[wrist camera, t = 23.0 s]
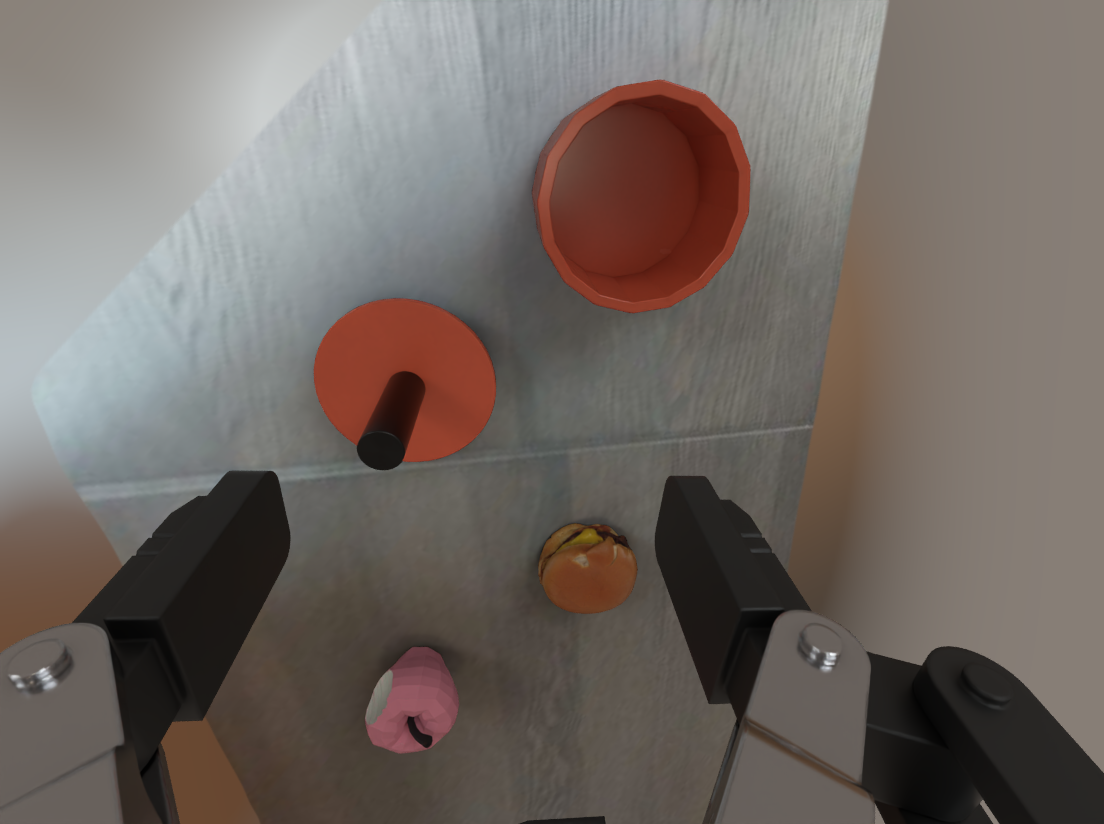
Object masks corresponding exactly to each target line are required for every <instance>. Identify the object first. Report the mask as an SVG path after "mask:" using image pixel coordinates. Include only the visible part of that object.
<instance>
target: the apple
mask: <svg viewBox="0 0 1104 824" xmlns="http://www.w3.org/2000/svg"><path fill="white" fill-rule="evenodd" d="M458 707H459V699H458V693H457V690H456V687H455V685H454V682H453V679H452V677H451V675H450V673H449V671H448V669H447V667H446V666H445V664H444V661H443V658H442V657H441V655H440V654H439V653H437V652H435V651H434V650H432V649H430V648H429V647H412V648H411V649H409V650H408V651H407V652H406V653H404V654H403V655H402V656H401V658H400V659H399V660H398V661H397V662H396V663H395V664H394V665H393V666H392V667H391V668H390V669H389V670H388V671H387V672H386V673H385V674H384V675H383V676H382V677H381V679H380V680H379V682H378V683H377V686H376V687H375V689H374V691H373V694H372V698H371V700H370V703H369V706H368V708H367V712H366V717H365V724H366V728H367V732H368V735H369V737H370V739H371V741H372V743H373V744H374V745H377V746H380V747H383V748H386V749H388V750H391V751H394V752H396V753H399V754H400V753H409V752H417V751H421V750H426V749H430V748H431V747H432V746H433V745H434V744H435V743H436V742H438V741H439V740H440V739H441V738H442V737H443V736H444V735H446V734H447V733H448V732H449V731H450V729H451V727H452V726H453V724H454V723H455V720H456V716H457V713H458Z"/></svg>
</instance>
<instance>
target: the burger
mask: <svg viewBox="0 0 1104 824" xmlns="http://www.w3.org/2000/svg"><path fill="white" fill-rule="evenodd" d="M538 568H539V573H538V576H539V577H540V579H539V580H540V584H541V583H542V586H543V587H544V590H545V592H546V594H547V596H548V598H549V599H550V600H551V601H552V602H553V603H554V604H555V605H556V606H558V607H560V608H561V609H564V610H567V611H569V612H574V613H582V614H590V613H599V612H603V611H607V610H610V609H613V608H615V607H617V606H618V605H620V604H622V603H623V602H624V601H625V600H626V599H627V597H628V596H629V595H630V593H631V592H632V590H633V587H634V584H635V580H636V576H637V570H638V569H637V563H636V558H635V555H634V553H633V552H632V550H631V549H630V547H629V545H628V543H627V540H626V538H625V537H624V536H622V535H621V536H618V535H617V534H616V533H615V531H614V530H612V529H611V528H610V527H609V526H606V525H600V524H594V525H591V526H587V525H585V526H584V525H582V524H576V523H574V524H570V525H567V526H565V527H562V528H561V529H559V530H558V531H556V532H555V533H554V534H552V535H551V538H550V539H548V540H547V542H546V543H545V545H544V548H543V551H542V553H541V556H540V560H539V564H538Z"/></svg>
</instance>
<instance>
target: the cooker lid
mask: <svg viewBox="0 0 1104 824" xmlns="http://www.w3.org/2000/svg"><path fill="white" fill-rule="evenodd" d="M314 383H315V388H316V393H317V396H318V399H319V402H320V404H321V406H322V408H323V410H324V412H325V414H326V415H327V417H328V418H329V420H330V421H331V422H332V424H333V425H334V426H335V427H336V428H337V430H338V431H339V432H341V433H342V434H343V435H344V436H345V437H346V438H347V439H349V440H350V441H351V442H353V443H354V444H355V445H357V452H358V455H359V457H360V459H361V460H362V461H363V462H364V463H365V464H366V465H367V466H369V467H371V468H373V469H377V470H389V469H393V468H395V467H397V466H398V465H399V464H400V463H401V462H402V461H405V462H421V461H430V460H435V459H439V458H442V457H445V456H448V455H450V454H452V453H455V452H457V451H459V450H460V449H462V448H463V447H465V446H466V445H468V444H469V443H470V442H471V441H472V440H474V439H475V438H476V437H477V435H478V434H479V433H480V432H481V431H482V429H483V428H484V426H485V425H486V423H487V422H488V420H489V418H490V415H491V413H492V410H493V407H494V403H495V396H496V378H495V371H494V367H493V364H492V360H491V358H490V356H489V354H488V351H487V349H486V348H485V346H484V345H483V343H482V341H481V340H480V339H479V337H478V336H477V335H476V334H475V332H474V331H473V330H472V329H471V328H470V327H469V326H467V325H466V324H465V323H464V322H463V321H462V320H460V319H459V318H458V317H456V316H455V315H453V314H451V313H450V312H448V311H446V310H444V309H442V308H440V307H437V306H435V305H433V304H429V303H426V302H422V301H418V300H412V299H400V298H393V299H382V300H378V301H373V302H369V303H367V304H364V305H361V306H359V307H357V308H355V309H353V310H352V311H350V312H348V313H347V314H345V315H344V316H343V317H341V318H340V319H339V320H338V321H337V322H336V323H335V324H334V325H333V326H332V327H331V328H330V329H329V331H328V332H327V334H326V335H325V337H324V338H323V340H322V342H321V344H320V346H319V348H318V351H317V355H316V358H315V365H314Z"/></svg>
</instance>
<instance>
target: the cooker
mask: <svg viewBox="0 0 1104 824" xmlns="http://www.w3.org/2000/svg"><path fill="white" fill-rule="evenodd" d="M749 195H750V164H749V161H748V158H747V156H746V153H745V150H744V147H743V144H742V141H741V139H740V136H739V133H738V130H737V127H736V126H735V124H734V123H733V122H732V121H731V120H730V119H729V118H728V117H727V116H726V115H725V114H724V113H723V112H722V111H721V110H720V109H719V108H718V107H717V106H716V105H715V104H714V103H713V101H712V100H711V99H710V98H709V97H708V96H707V95H706V94H704V93H702V92H699V91H696V90H693V89H690V88H687V87H684V86H681V85H678V84H674V83H671V82H668V81H665V80H654V81H648V82H642V83H636V84H629V85H623V86H617V87H615V88H612V89H610V90H608V91H607V92H605V93H603V94H601V95H599V96H597V97H595V98H593V99H592V100H590V101H589V102H587V103H586V104H584V105H583V106H581V107H580V108H578V109H577V110H575V111H574V112H572V113H571V114H570V115H568V116H567V117H565V118H564V119H563V120H562V121H561V122H560V124H559V125H558V127H557V128H556V130H555V131H554V133H553V134H552V135H551V137H550V138H549V140H548V142H547V144H546V145H545V147H544V148H543V150H542V151H541V154H540V156H539V161H538V165H537V169H536V172H535V179H534V184H533V188H532V198H533V204H534V212H535V218H536V224H537V229H538V232H539V235H540V238H541V241H542V244H543V246H544V249H545V250H546V252H547V254H548V256H549V257H550V259H551V261H552V262H553V264H554V266H555V267H556V269H557V271H558V273H559V274H560V276H561V278H562V279H563V281H564V282H565V283H566V284H567V285H569V286H570V287H571V288H573V289H574V290H575V291H577V292H578V293H579V294H581V295H582V296H584V297H585V298H586V299H588V300H589V301H590V302H592V303H593V304H595V305H598V306H602V307H606V308H611V309H615V310H619V311H623V312H628V313H637V312H643V311H650V310H656V309H662V308H668V307H671V306H672V305H674V304H676V303H678V302H679V301H681V300H683V299H685V298H686V297H688V296H690V295H691V294H693V293H695V292H697V291H698V290H700V289H702V288H704V286H706V285H707V283H708V282H709V281H710V280H711V279H712V278H713V276H714V275H715V274H716V273H717V272H718V271H719V269H720V268H721V267H722V266H723V265H724V264H725V262H726V261H727V260H728V259H729V258H730V257H731V255H732V254H733V252H734V249H735V247H736V244H737V242H738V239H739V237H740V234H741V232H742V229H743V227H744V224H745V222H746V219H747V217H748V214H749Z"/></svg>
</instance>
